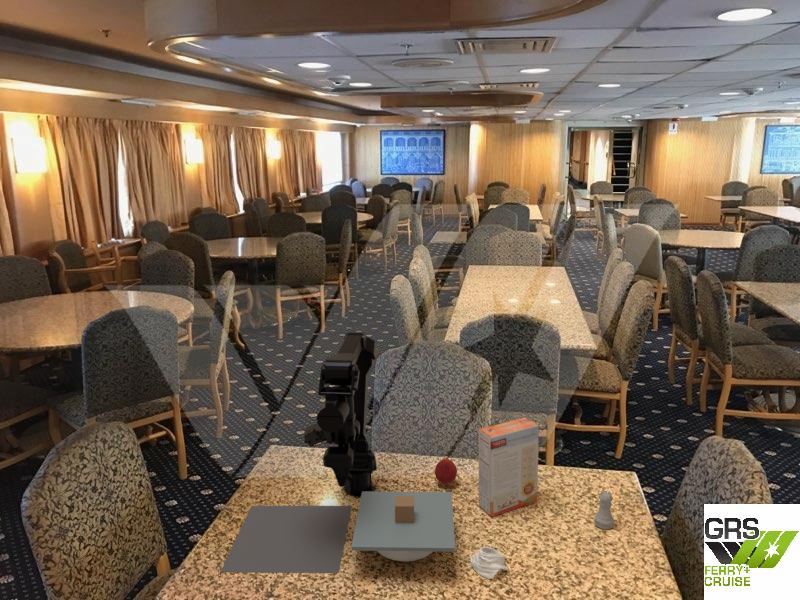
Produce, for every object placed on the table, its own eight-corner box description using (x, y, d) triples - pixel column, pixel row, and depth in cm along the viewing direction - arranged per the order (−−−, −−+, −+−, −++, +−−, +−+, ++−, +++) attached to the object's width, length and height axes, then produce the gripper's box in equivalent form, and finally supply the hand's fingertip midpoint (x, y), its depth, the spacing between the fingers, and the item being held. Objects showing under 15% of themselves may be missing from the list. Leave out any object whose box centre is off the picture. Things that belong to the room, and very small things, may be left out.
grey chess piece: (615, 521, 147) (617, 491, 145) (612, 532, 143) (614, 500, 141) (595, 517, 149) (597, 487, 147) (592, 527, 145) (594, 496, 143)
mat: (251, 507, 156) (251, 505, 156) (351, 507, 155) (351, 505, 155) (220, 574, 132) (220, 572, 131) (338, 574, 131) (338, 572, 131)
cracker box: (523, 491, 161) (525, 415, 156) (538, 503, 155) (540, 425, 150) (476, 505, 155) (477, 427, 150) (490, 518, 149) (491, 437, 144)
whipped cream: (464, 570, 133) (461, 551, 132) (483, 553, 137) (481, 534, 136) (495, 586, 127) (492, 565, 126) (514, 567, 132) (512, 547, 130)
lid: (362, 494, 148) (361, 476, 147) (451, 495, 147) (451, 476, 146) (351, 550, 127) (350, 529, 126) (455, 551, 126) (455, 530, 125)
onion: (455, 491, 161) (455, 463, 159) (433, 489, 162) (433, 461, 160) (458, 480, 167) (458, 452, 165) (436, 478, 168) (436, 450, 166)
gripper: (312, 396, 150) (316, 456, 154) (297, 431, 132) (301, 497, 136) (359, 396, 150) (361, 456, 153) (350, 431, 132) (353, 497, 135)
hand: (344, 475), depth 144 cm, fingers open, 9 cm apart
